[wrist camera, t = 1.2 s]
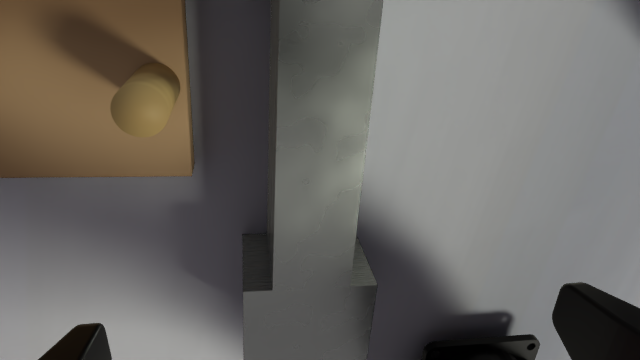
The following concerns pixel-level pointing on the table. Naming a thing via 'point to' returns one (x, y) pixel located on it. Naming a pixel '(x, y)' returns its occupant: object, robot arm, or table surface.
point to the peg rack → (94, 89)
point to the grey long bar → (314, 187)
